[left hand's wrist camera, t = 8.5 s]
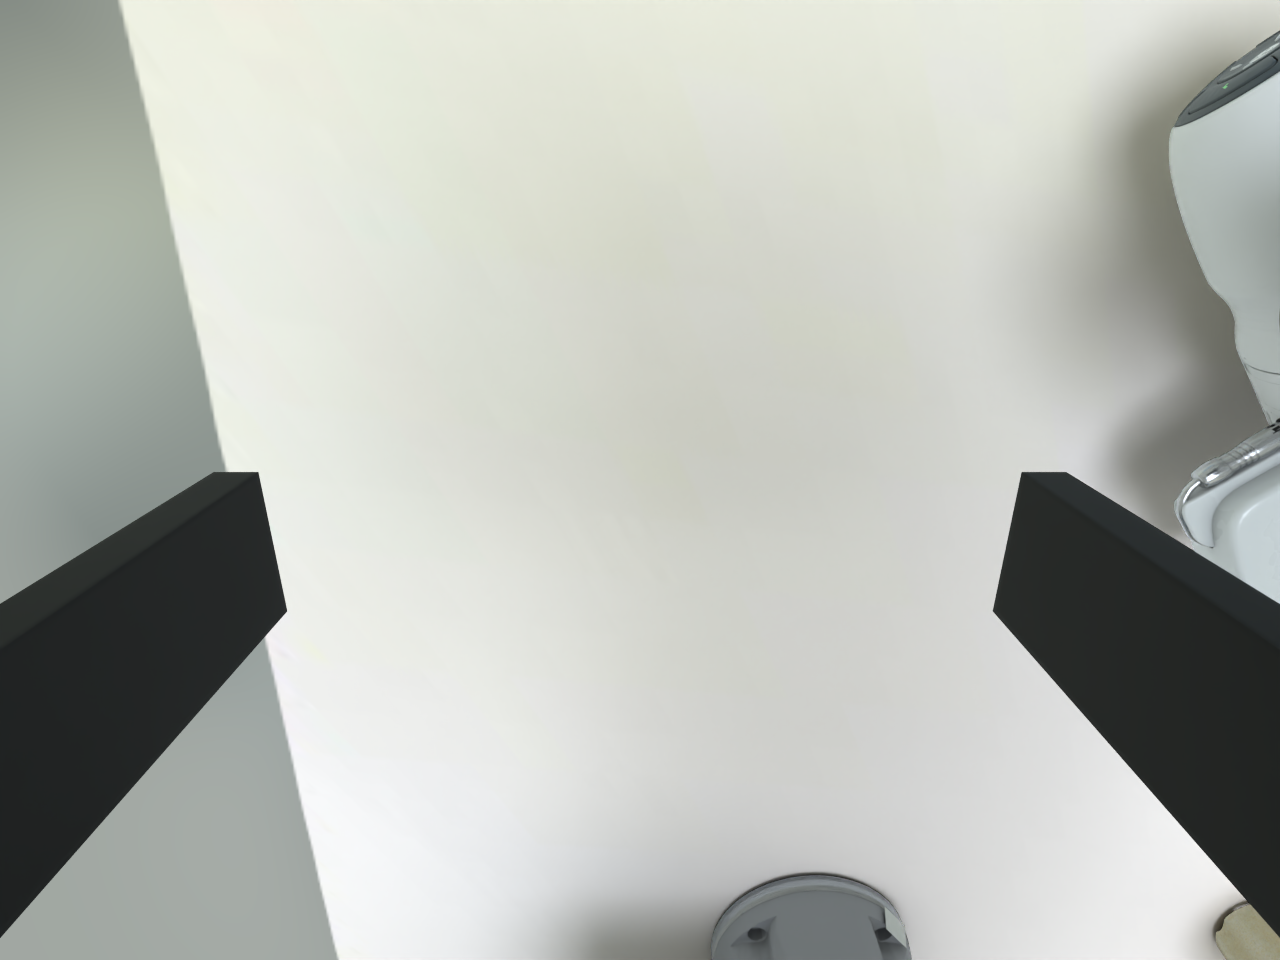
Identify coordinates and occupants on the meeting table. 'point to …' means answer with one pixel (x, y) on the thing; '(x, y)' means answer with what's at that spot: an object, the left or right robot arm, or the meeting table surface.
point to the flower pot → (1247, 937)
